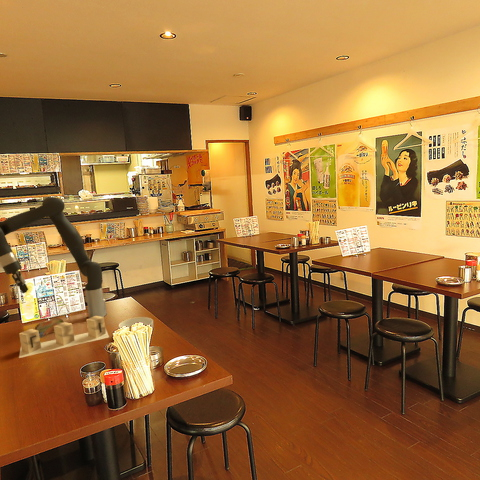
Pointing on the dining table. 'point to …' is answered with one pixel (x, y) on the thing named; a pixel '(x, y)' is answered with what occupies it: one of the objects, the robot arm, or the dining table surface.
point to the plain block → (64, 333)
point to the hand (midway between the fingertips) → (25, 291)
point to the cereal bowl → (134, 320)
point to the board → (53, 346)
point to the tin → (48, 327)
